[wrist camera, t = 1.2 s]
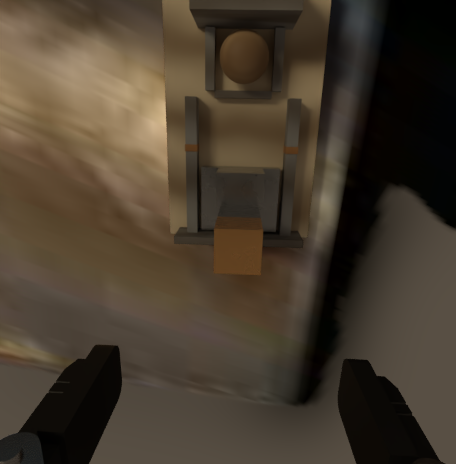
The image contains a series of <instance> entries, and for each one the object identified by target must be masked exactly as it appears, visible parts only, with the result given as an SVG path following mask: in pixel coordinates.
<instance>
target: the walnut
mask: <svg viewBox="0 0 456 464" xmlns="http://www.w3.org/2000/svg"><path fill="white" fill-rule="evenodd" d="M268 61H269V50H268V46H267V44H266V42H265V40H264V39H263V37H262V36H261V35H260V34H259V33H257V32H256V31H254V30H251V29H239V30H236V31H234V32H232V33H231V34H230V35H229V36H228V37H227V38H226V39H225V40H224V42H223V44H222V47H221V50H220V64H221V67H222V70H223V72H224V73H225V75H226V76H227V77H228V78H229V79H230V80H232V81H233V82H235V83H238V84H249V83H252V82H254V81H256V80H258V79H259V78H260V77H261V76H262V75H263V73H264V72H265V70H266V68H267V65H268Z"/></svg>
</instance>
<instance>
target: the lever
mask: <svg viewBox="0 0 456 464" xmlns="http://www.w3.org/2000/svg"><path fill="white" fill-rule="evenodd" d="M279 179H280V168H274V167H237V166H202V167H201V218H202V230H214V273H217V274H244V275H261V261H262V243H263V232H276V222H277V207H278V193H279Z"/></svg>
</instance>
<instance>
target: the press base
mask: <svg viewBox="0 0 456 464" xmlns="http://www.w3.org/2000/svg"><path fill="white" fill-rule="evenodd" d="M162 6H163V35H164V64H165V93H166V122H167V151H168V180H169V209H170V233H176V234H175V236H174V244H201V245H214V230H202V218H201V167H202V166H237V167H274V168H280V179H279V193H278V207H277V222H276V232H263V243H262V247H289V248H303V240H302V238H307V236H308V226H309V216H310V206H311V196H312V187H313V177H314V167H315V157H316V147H317V137H318V128H319V118H320V108H321V98H322V88H323V78H324V68H325V59H326V49H327V39H328V29H329V19H330V9H331V0H162ZM239 29H251V30H254V31H256V32H257V33H259V34H260V35H261V36H262V37H263V39H264V40H265V42H266V44H267V46H268V50H269V61H268V65H267V68H266V70H265V72H264V73H263V75H262V76H261V77H260V78H259V79H258V80H256V81H254V82H252V83H249V84H238V83H235V82H233V81H232V80H230V79H229V78H228V77H227V76H226V75H225V73H224V72H223V70H222V67H221V64H220V50H221V47H222V44H223V42H224V40H225V39H226V38H227V37H228V36H229V35H230V34H231V33H232V32H234V31H236V30H239Z"/></svg>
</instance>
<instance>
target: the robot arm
mask: <svg viewBox="0 0 456 464" xmlns="http://www.w3.org/2000/svg"><path fill="white" fill-rule="evenodd" d="M121 387H122V375H121V363H120V352H119V347H118V346H114V345H95V346H94V347H93V349H92V350H91V352H90V353H89V355H88V356H87V358H86V359H77V360H76V361H75V362H73V363H72V364H71V365H69V366H68V367H67V368H65V370H64V371H63V372H62V374H61V375H60V376H59V378H58V379H57V381H56V383H54V385H53V386H52V387H51V389H50V390H49V393H47V394H46V395H45V397H44V398H43V400H42V401H41V402H40V404H39V405H38V406H37V408H36V409H35V410H34V412H33V413H32V414H31V416H30V417H29V419H28V420H27V421H26V423H25V424H24V425H23V427H22V428H21V430H20V431H19V432H18V433H16V434H12V435H9V436H7V437H5V438H3V439H1V440H0V464H89V462H90V460H91V458H92V456H93V454H94V451H95V449H96V447H97V445H98V443H99V441H100V439H101V436H102V434H103V432H104V430H105V428H106V425H107V423H108V421H109V419H110V416H111V415H112V412H113V410H114V408H115V406H116V404H117V401H118V399H119V396H120V393H121ZM338 408H339V412H340V416H341V419H342V422H343V425H344V428H345V431H346V434H347V437H348V440H349V443H350V446H351V449H352V452H353V455H354V458H355V461H356V464H445V463H443V462H441V461H440V460H439V459H438V457H437V455H436V453H435V452H434V450H433V448H432V446H431V445H430V443H429V441H428V440H427V438H426V436H425V434H424V433H423V431H422V429H421V428H420V426H419V424H418V422H417V421H416V419H415V417H414V416H412V412H411V410H410V409H409V407H408V405H406V402H405V400H404V398H403V397H402V395H401V393H400V392H399V390H398V388H396V387H395V386H394V385H393V384H392V383H391V382H390V381H389V380H388V379H387V378H386V377H381V376H376V374H375V372H374V370H373V368H372V366H371V364H370V363H369V361H368V360H358V359H345V360H344V361H343V366H342V372H341V378H340V385H339V391H338Z"/></svg>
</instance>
